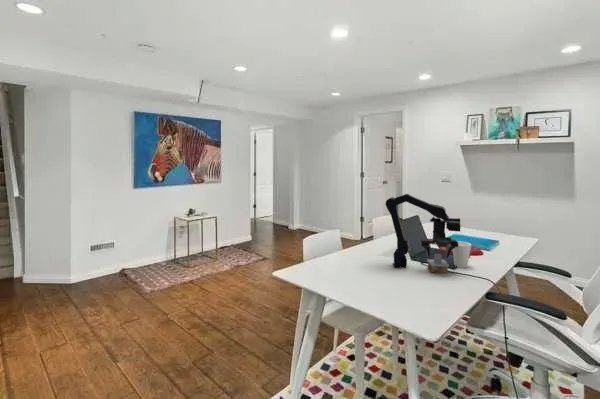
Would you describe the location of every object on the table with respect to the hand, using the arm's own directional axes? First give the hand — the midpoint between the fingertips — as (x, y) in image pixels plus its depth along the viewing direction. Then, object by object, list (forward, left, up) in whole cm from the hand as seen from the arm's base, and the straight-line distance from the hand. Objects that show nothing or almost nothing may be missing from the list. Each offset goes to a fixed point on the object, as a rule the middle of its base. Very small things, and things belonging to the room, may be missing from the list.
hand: (437, 258), depth 181 cm
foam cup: (+15, +9, -7) cm, 19 cm away
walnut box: (0, 0, -7) cm, 7 cm away
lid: (0, 0, -3) cm, 3 cm away
